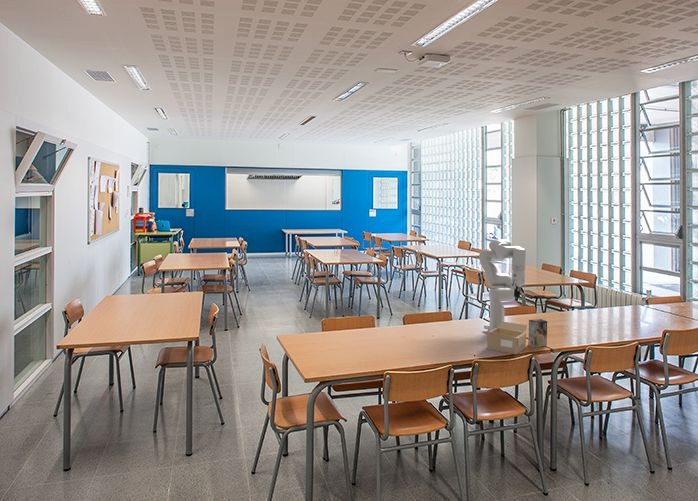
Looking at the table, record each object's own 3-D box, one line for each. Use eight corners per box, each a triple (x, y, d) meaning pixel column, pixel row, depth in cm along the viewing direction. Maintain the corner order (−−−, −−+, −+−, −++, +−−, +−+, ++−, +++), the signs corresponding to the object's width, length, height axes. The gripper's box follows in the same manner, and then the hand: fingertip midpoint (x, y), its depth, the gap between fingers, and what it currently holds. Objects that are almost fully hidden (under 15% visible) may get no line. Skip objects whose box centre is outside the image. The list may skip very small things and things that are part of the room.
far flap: (501, 321, 318) (501, 321, 318) (498, 327, 315) (499, 327, 316) (527, 325, 308) (527, 325, 308) (524, 331, 305) (525, 331, 305)
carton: (486, 348, 304) (486, 332, 303) (496, 342, 317) (496, 327, 316) (517, 354, 293) (517, 337, 292) (526, 348, 305) (526, 332, 304)
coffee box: (540, 343, 315) (541, 318, 314) (546, 346, 309) (547, 321, 307) (527, 344, 313) (528, 319, 311) (534, 347, 307) (535, 322, 305)
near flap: (512, 335, 288) (512, 336, 288) (515, 337, 292) (515, 338, 292) (485, 331, 298) (485, 331, 298) (488, 333, 302) (488, 333, 302)
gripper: (519, 270, 299) (518, 300, 301) (529, 267, 310) (527, 295, 313) (507, 268, 304) (506, 298, 306) (517, 265, 315) (515, 294, 317)
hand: (516, 297), depth 309 cm, fingers closed
